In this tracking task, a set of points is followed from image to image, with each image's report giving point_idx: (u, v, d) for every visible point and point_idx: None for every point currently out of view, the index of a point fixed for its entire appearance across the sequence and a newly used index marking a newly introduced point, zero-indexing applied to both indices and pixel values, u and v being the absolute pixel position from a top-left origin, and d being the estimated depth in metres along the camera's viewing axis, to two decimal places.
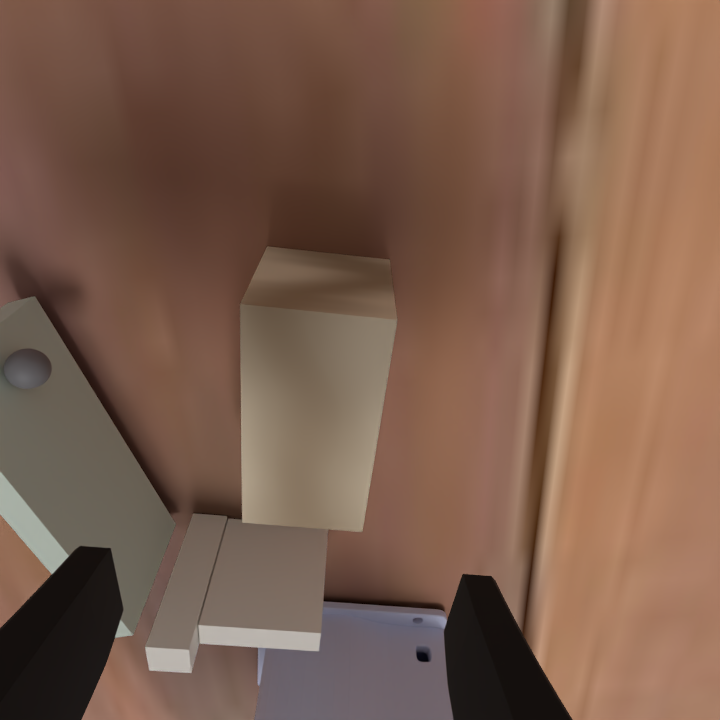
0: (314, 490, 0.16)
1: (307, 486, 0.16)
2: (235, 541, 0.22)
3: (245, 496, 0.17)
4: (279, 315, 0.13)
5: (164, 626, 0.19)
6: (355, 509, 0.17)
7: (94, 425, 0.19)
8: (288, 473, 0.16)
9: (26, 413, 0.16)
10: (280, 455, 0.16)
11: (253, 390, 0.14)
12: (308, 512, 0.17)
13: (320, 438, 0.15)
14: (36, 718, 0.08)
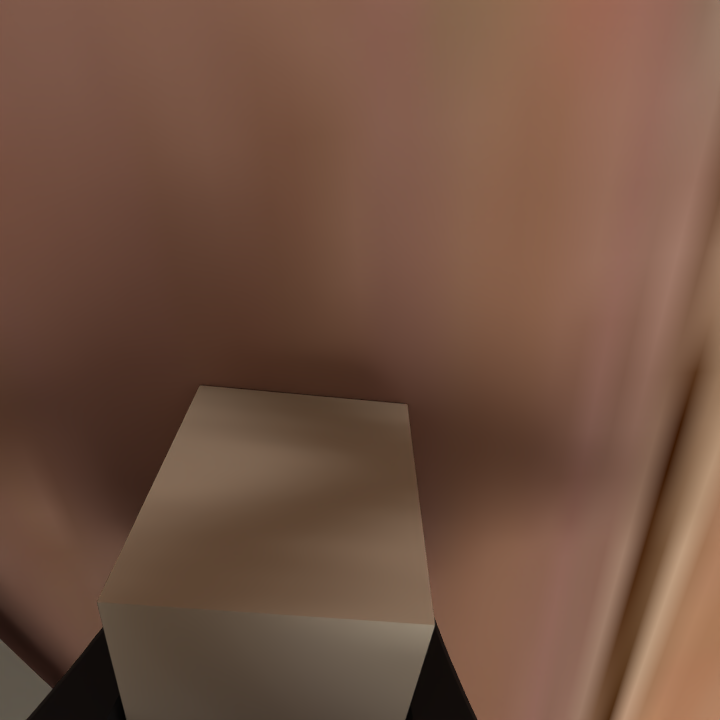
0: None
1: None
2: None
3: None
4: (184, 619, 0.06)
5: None
6: None
7: None
8: None
9: None
10: None
11: (151, 714, 0.07)
12: None
13: None
14: None
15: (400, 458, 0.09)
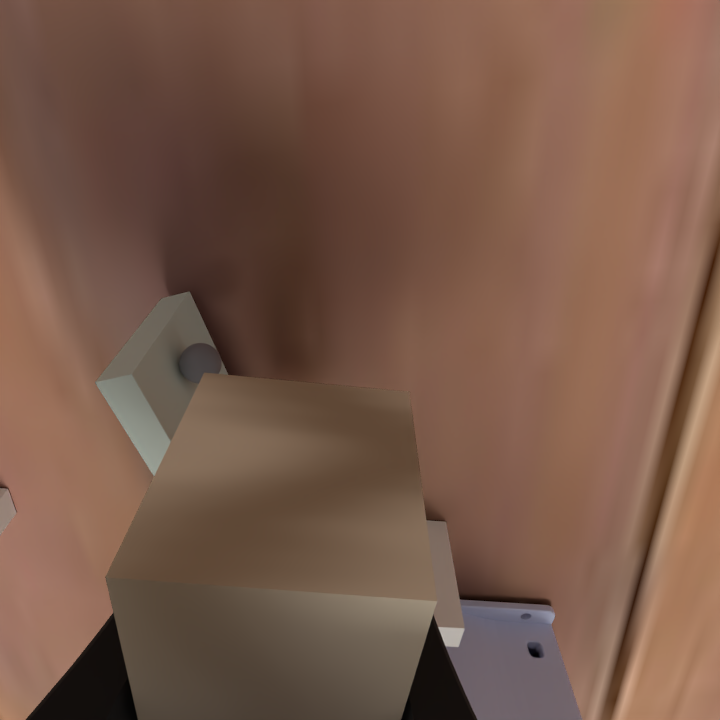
0: None
1: None
2: None
3: None
4: (191, 594, 0.06)
5: None
6: None
7: None
8: None
9: None
10: None
11: (156, 692, 0.08)
12: None
13: None
14: None
15: (402, 443, 0.09)
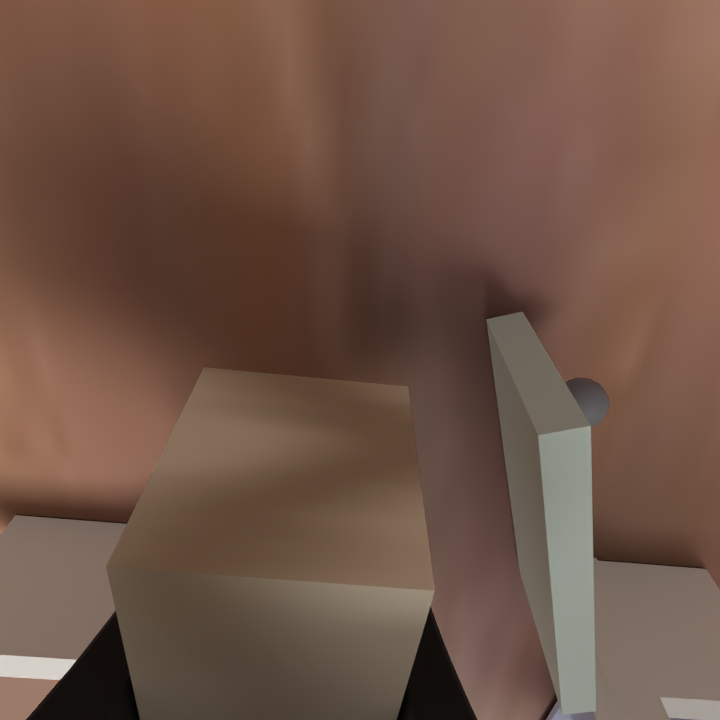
0: None
1: None
2: (623, 589, 0.19)
3: None
4: (191, 583, 0.06)
5: (627, 700, 0.16)
6: None
7: None
8: None
9: None
10: None
11: (157, 683, 0.08)
12: None
13: None
14: None
15: (401, 436, 0.09)
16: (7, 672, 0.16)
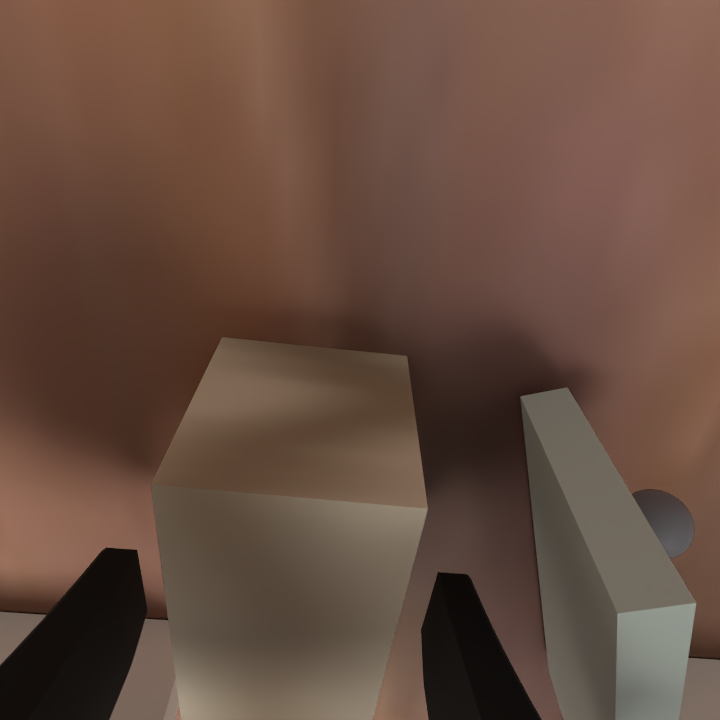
0: (290, 712, 0.11)
1: (279, 708, 0.11)
2: None
3: (186, 717, 0.11)
4: (221, 500, 0.08)
5: None
6: None
7: None
8: (250, 693, 0.10)
9: None
10: (235, 674, 0.10)
11: (186, 598, 0.09)
12: None
13: (298, 656, 0.10)
14: None
15: (400, 392, 0.10)
16: None
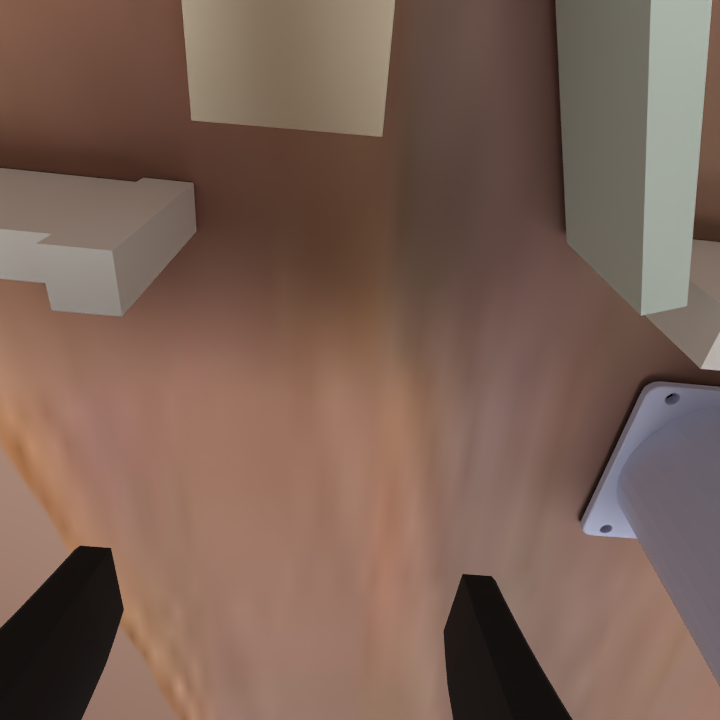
0: (302, 31, 0.10)
1: (290, 20, 0.10)
2: (699, 250, 0.15)
3: (191, 53, 0.10)
4: None
5: None
6: (371, 79, 0.10)
7: None
8: None
9: None
10: None
11: None
12: (294, 90, 0.11)
13: None
14: (36, 718, 0.08)
15: None
16: None
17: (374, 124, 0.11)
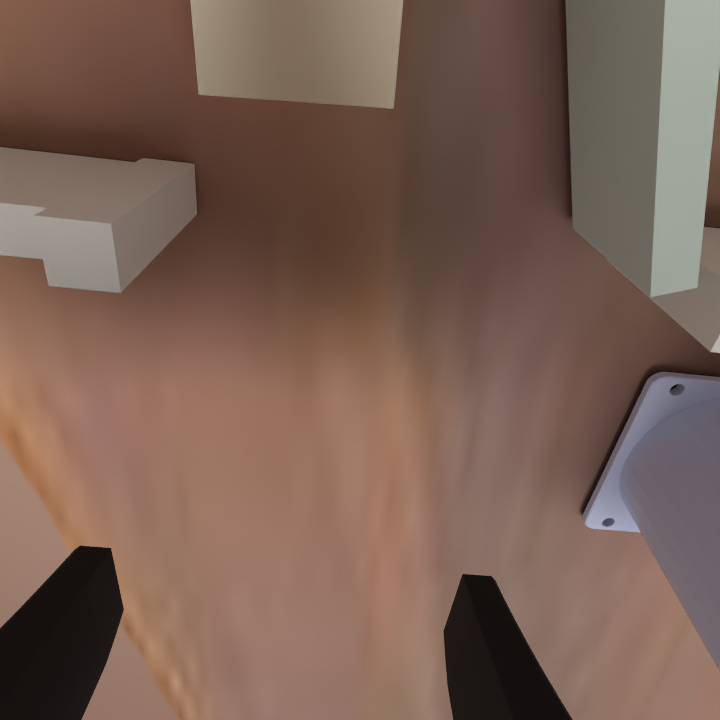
0: None
1: None
2: (707, 236, 0.15)
3: (198, 25, 0.10)
4: None
5: None
6: (382, 48, 0.10)
7: None
8: None
9: None
10: None
11: None
12: (303, 61, 0.10)
13: None
14: (36, 718, 0.08)
15: None
16: None
17: (385, 95, 0.11)
